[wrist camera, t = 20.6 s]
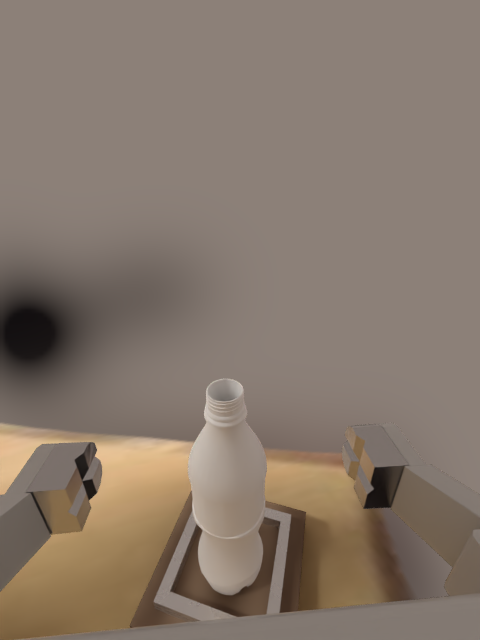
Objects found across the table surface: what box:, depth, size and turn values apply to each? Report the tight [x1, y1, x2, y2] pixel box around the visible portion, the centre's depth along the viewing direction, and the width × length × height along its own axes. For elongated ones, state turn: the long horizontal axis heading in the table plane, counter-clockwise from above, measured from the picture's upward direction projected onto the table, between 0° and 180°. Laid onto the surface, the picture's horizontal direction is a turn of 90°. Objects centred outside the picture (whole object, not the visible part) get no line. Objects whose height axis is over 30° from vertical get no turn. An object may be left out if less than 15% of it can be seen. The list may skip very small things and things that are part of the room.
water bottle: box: [188, 379, 267, 595], centre depth 28 cm, size 7×7×25 cm
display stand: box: [130, 490, 306, 628], centre depth 34 cm, size 16×16×4 cm
